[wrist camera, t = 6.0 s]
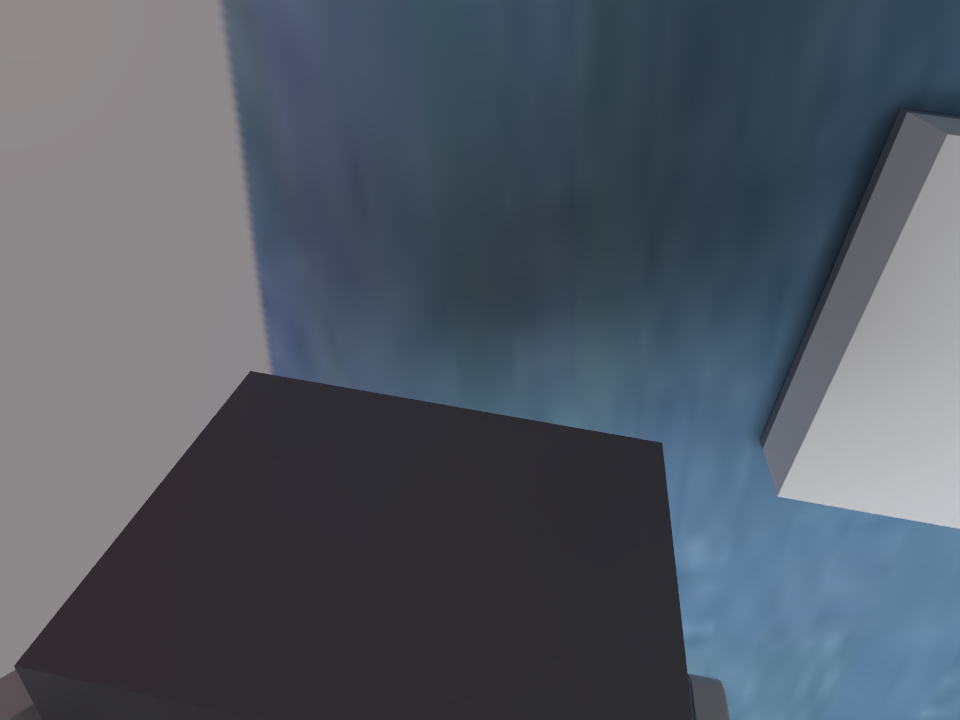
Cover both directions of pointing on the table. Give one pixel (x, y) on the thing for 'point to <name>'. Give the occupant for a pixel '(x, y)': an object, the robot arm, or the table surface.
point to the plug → (379, 573)
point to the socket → (884, 346)
